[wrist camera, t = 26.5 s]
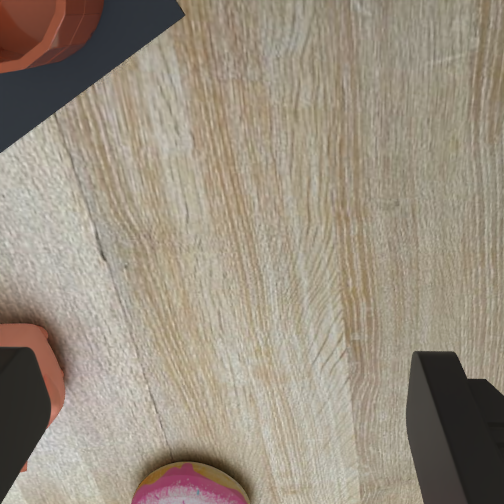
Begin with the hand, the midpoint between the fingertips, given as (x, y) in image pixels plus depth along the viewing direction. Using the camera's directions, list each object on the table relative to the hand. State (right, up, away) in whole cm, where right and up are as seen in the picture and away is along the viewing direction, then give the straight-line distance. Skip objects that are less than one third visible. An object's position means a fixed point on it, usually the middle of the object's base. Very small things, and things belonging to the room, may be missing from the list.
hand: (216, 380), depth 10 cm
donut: (-6, -25, +45) cm, 52 cm away
